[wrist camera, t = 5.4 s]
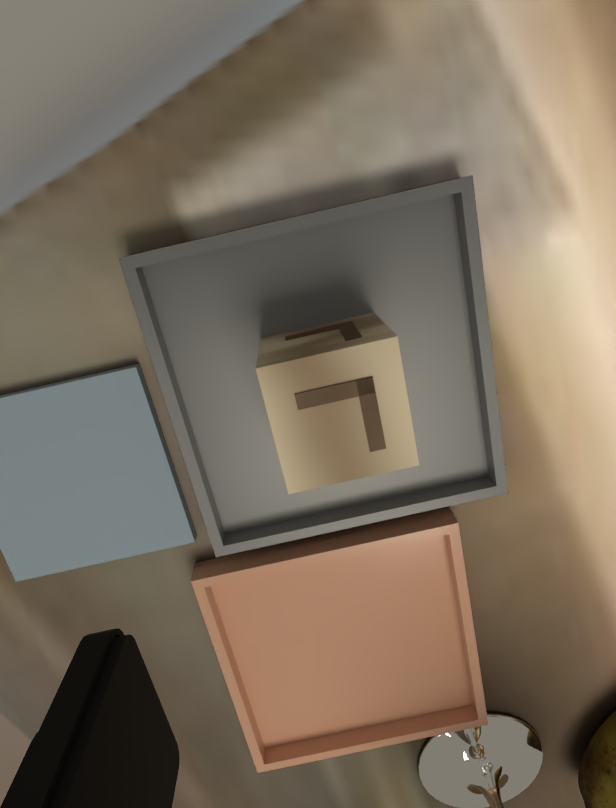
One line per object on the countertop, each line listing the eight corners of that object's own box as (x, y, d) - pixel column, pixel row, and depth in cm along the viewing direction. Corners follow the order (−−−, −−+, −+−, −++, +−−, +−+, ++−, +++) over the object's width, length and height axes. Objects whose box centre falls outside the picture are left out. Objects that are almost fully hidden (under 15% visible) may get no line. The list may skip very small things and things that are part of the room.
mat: (139, 363, 24) (136, 367, 24) (196, 535, 27) (194, 542, 27) (-57, 408, 25) (-65, 412, 24) (21, 574, 28) (16, 581, 27)
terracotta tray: (449, 507, 28) (458, 522, 26) (479, 702, 32) (488, 724, 30) (195, 562, 28) (190, 581, 26) (258, 748, 32) (257, 772, 31)
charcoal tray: (460, 177, 23) (472, 175, 21) (496, 478, 27) (508, 493, 26) (128, 255, 23) (118, 258, 22) (219, 539, 27) (215, 557, 26)
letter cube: (373, 310, 24) (397, 334, 19) (393, 418, 25) (419, 466, 21) (259, 336, 24) (254, 367, 19) (286, 442, 25) (288, 495, 21)
